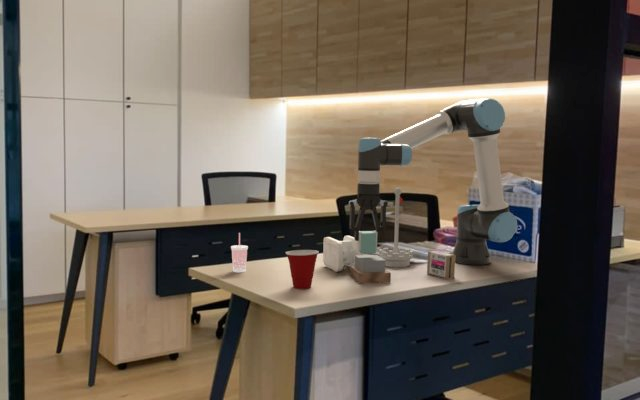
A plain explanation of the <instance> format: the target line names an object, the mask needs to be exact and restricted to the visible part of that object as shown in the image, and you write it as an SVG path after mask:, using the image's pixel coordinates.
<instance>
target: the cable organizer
mask: <svg viewBox="0 0 640 400" xmlns="http://www.w3.org/2000/svg"><path fill="white" fill-rule="evenodd" d="M354 238H355V236H351V235H344V237H343V239H342V240H338V239H335V238H333V237H331V236H326V237H325V236H324V237H323V245H322V246H323V248H322V249H323V251H322V252H323V253H322V255H323V256H322V257H323V259H322V261H323V262H322V263H323V265H324V266H326V268H327V269H330V270H332V271H333V272H335V273H339V272H342V271H343V269H344V268H345V266H347V268H348V267H349V268H350V266H355V255H363V254H361V253H360V252H359V251H358V250H357V241H355V239H354Z"/></svg>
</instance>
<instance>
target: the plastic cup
mask: <svg viewBox="0 0 640 400" xmlns="http://www.w3.org/2000/svg"><path fill="white" fill-rule="evenodd" d="M318 254H319V250H316V249H315V250H314V249H313V250H312V249H296V250H289V251H285V255H286V256H287V259H288V262H289V268H290V269H289V270H290V275H291V280H292V281H291V282H292V287H293V288H294V289H298V290H307V289H310V288H311V287H312V283H313V278H314V274H315V267H316V263H317V262H316V261H317V258H318Z"/></svg>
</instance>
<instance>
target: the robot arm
mask: <svg viewBox="0 0 640 400" xmlns="http://www.w3.org/2000/svg"><path fill="white" fill-rule="evenodd" d="M505 121H506V113H505V108H504V107H503V105H502V104H501V103H500V101H497V99H494V98H490V97H489V98H488V97H487V98H485V97H483V98H474V99H473V98H472V99H463V100H460V101H458V102H456V103H453V104H452V105H449V106H447V107H445V108H443V109H441V110H439V111H437V113H436V115H434V116H432V117H430V118H428V119H425V120H423V121H421V122H419V123H416V124H415V125H412V126H409V127H408V128H406V129H404V130H401V131H399V132H396V133H394V134H392V135H390V136H388V137H385V138H383V139H381V138H379V137H361V138H360V139H359V141H358V149H357V152H358V155H357V156H358V157H357V159H358V160H357V162H358V164H357V182H359V183H358V184H357V191H356V193H357V194H356V198H355V199H352V200H349V201H348V206H349V223H348V226H349V229H350V230H351V231H354V239H355V241H357V250H358V251H361V232H360V231H361V227H362V222H363V218H364V215H365V213H366V211H370V212H371V215H372V219H373V224H374V225H373V226H374V228H375V230H372V231H373V232H375V233H376V252H377V251H378V241H380V240H381V232H382V231H383V230H386V228H387V226H386V225H387V224H386V223H387V222H386V221H387V207H388V204H389V203H388V201H386V200H383V199H381V197H380V189H381V188H380V187H381V186H380V184H379V183H380V181H381V180H380V179H381V177H380V176H381V174H380V173H381V172H380V171H381V166H391V167H392V166H400V167H402V166H408V165H409V164H410V163H411V162H412V159H413V148H416V147H418V146H420V145H422V144H425V143H427V142H429V141H431V140H434V139H436V138H438V137H439V136H443V135H451V134H453V133H456V132H461V131H467V138H468V139H470V141H472V144H473V152H474V160H475V168H476V177H477V184H478V192H479V201H480V203H479V204H462V205H460V206H459V207H458V209H457V214H456V216H457V218H456V219H457V220H456V242H455V245H454V248H453V250H452V253H451V254H452V255H456V258H455V263H456V264H462V265H471V266H472V265H474V266H479V265H487V264H490V263H491V255H490V251H489V249H488V245H487V241H491V242H494V243H505V242H508V241H510V240H511V239H512V238H513V236H514V235H515V233H516V232H517V230H518V229H517V228H518V220H517V217H516V216H515V215H514V214H513V212H510V205H509V203H508V202H506V201H505V197H504V191H503V181H502V180H503V179H502V174H501V165H500V156H499V148H498V137H499V135H501V128H502V127H503V125H504V122H505ZM357 204H358V207H359V209H358V214H357V218H356V215H355V214H356V206H357ZM378 205H380V221H379V216H378V212H377V207H378ZM355 219H356V222H355Z"/></svg>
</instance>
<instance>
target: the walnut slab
mask: <svg viewBox="0 0 640 400" xmlns="http://www.w3.org/2000/svg"><path fill="white" fill-rule="evenodd" d="M349 276H350V277H351V278H352V279H353V280H354V281H355V282H356V283H357V284H359V285H362V284H363V285H365V284H366V285H367V284H391V281H392V278H391V276H392V273H391V272H390V271H389V270H387V268H385V272H365V273H362V272H361V271H360V270H359V269H357V268H356V267H355V266H350V267H349Z"/></svg>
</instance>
